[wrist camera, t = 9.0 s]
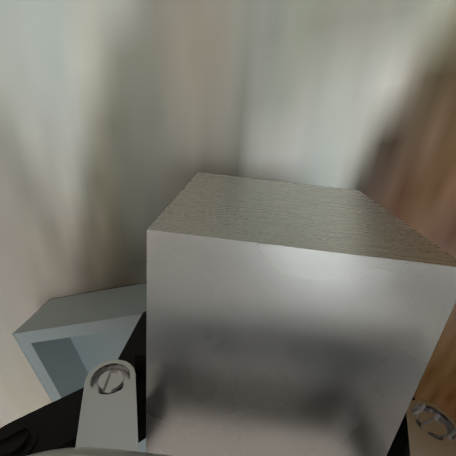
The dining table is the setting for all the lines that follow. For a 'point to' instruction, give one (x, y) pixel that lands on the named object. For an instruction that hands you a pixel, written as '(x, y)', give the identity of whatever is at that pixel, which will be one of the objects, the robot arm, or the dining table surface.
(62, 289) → the dining table surface
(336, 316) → the silver metal block
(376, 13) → the dining table surface
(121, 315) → the tray
